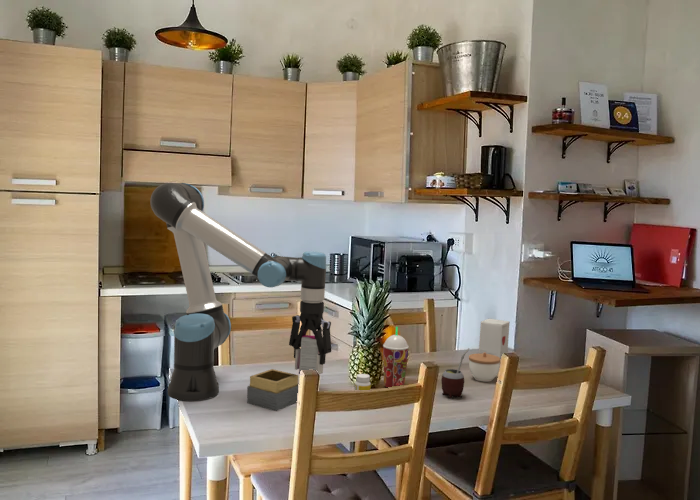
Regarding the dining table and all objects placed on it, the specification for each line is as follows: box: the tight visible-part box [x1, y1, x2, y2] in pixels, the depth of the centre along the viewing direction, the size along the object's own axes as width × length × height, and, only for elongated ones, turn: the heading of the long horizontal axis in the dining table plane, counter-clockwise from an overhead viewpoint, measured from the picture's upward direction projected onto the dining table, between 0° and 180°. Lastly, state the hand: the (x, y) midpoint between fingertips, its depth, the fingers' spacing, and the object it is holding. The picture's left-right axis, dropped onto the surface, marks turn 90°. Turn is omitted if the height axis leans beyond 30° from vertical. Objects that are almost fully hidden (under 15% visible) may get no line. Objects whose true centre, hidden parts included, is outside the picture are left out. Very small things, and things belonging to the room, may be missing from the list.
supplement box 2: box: [478, 318, 510, 359], centre depth 246 cm, size 9×9×15 cm
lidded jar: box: [468, 352, 501, 383], centre depth 218 cm, size 11×11×9 cm
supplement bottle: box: [354, 373, 372, 391], centre depth 189 cm, size 5×5×8 cm
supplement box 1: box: [298, 334, 319, 375], centre depth 201 cm, size 6×6×12 cm
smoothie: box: [382, 326, 410, 388], centre depth 205 cm, size 8×8×20 cm
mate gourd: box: [440, 347, 470, 400], centre depth 198 cm, size 8×8×15 cm
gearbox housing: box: [246, 368, 299, 412], centre depth 186 cm, size 11×11×8 cm
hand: (308, 371), depth 201 cm, fingers closed on supplement box 1, 8 cm apart
